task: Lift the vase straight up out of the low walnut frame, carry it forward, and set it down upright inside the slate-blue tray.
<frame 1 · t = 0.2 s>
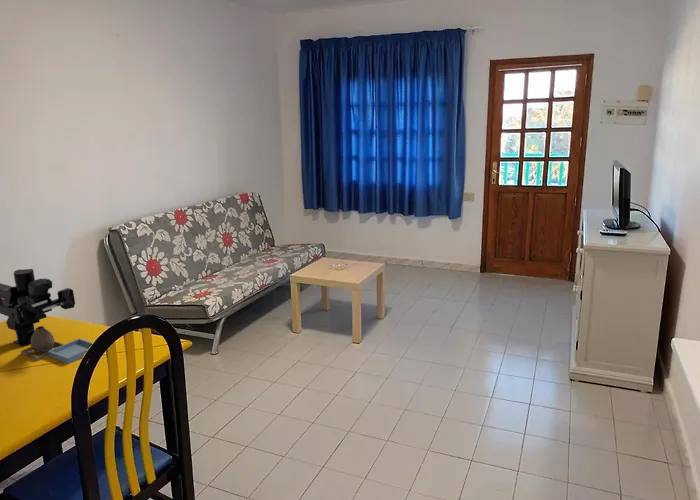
hand: (60, 310, 167), 16 cm above the table, tool horizontal, fingers open, 9 cm apart
vase: (44, 351, 176), resting in walnut frame
slate tray: (74, 353, 174), on the table
walnut frame: (44, 351, 176), on the table
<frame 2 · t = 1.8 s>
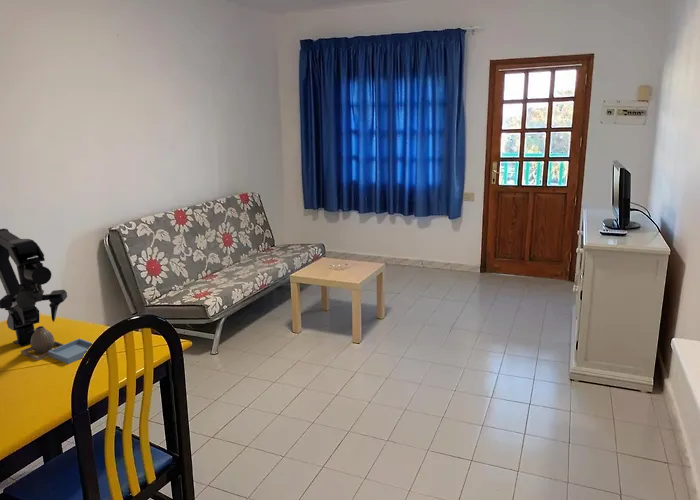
hand: (38, 322, 173), 10 cm above the table, tool pointing down, fingers open, 9 cm apart
nothing on the table moved.
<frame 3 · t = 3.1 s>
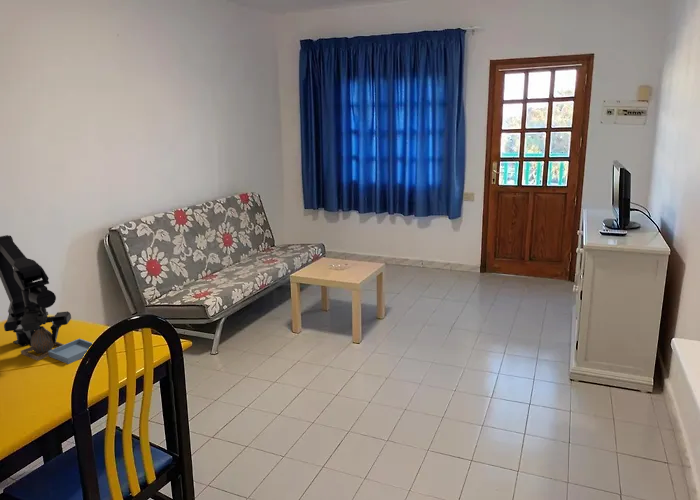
hand: (43, 344, 175), 3 cm above the table, tool pointing down, fingers closed on vase, 7 cm apart
vase: (44, 351, 176), resting in walnut frame, touching gripper
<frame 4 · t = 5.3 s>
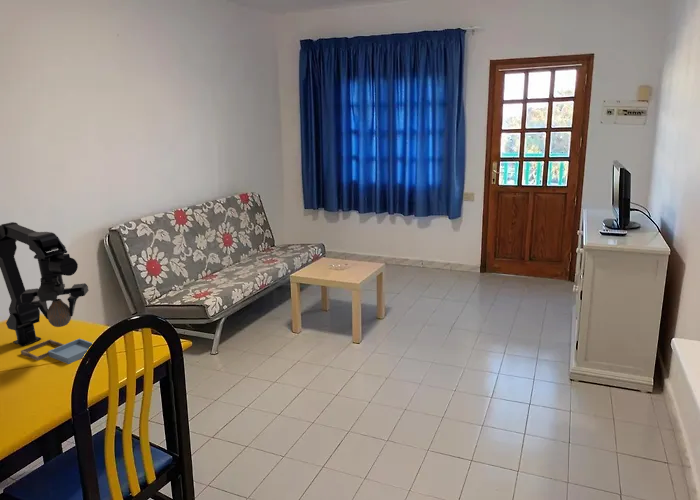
hand: (60, 317, 171), 13 cm above the table, tool pointing down, fingers closed on vase, 7 cm apart
vase: (61, 325, 171), point 10 cm above the table, touching gripper
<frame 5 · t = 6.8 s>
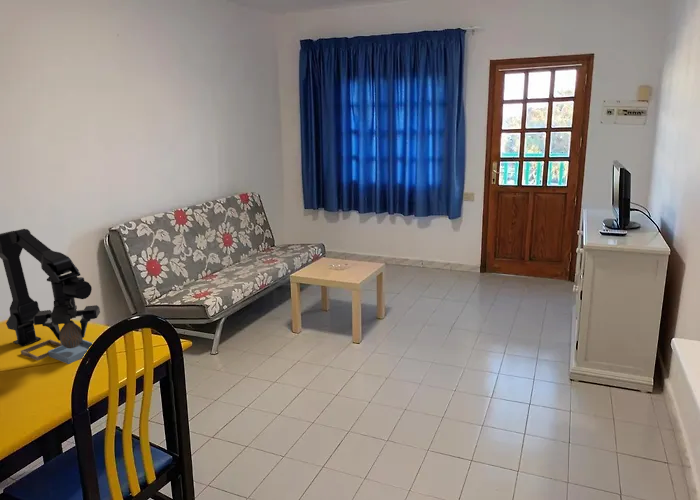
hand: (71, 338, 172), 5 cm above the table, tool pointing down, fingers closed on vase, 7 cm apart
vase: (72, 346, 173), point 3 cm above the table, touching gripper
when the fingers open (4 cm above the table, at t = 8.0 s): vase drops 1 cm, resting on slate tray.
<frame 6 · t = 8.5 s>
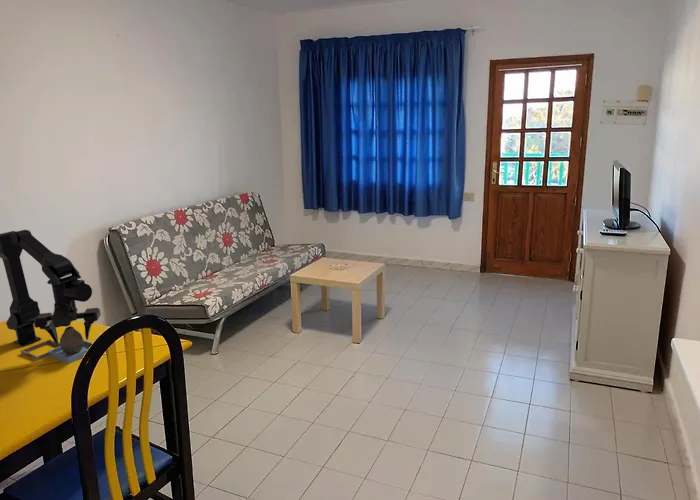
hand: (72, 341, 173), 4 cm above the table, tool pointing down, fingers open, 9 cm apart
vase: (73, 352, 174), resting on slate tray
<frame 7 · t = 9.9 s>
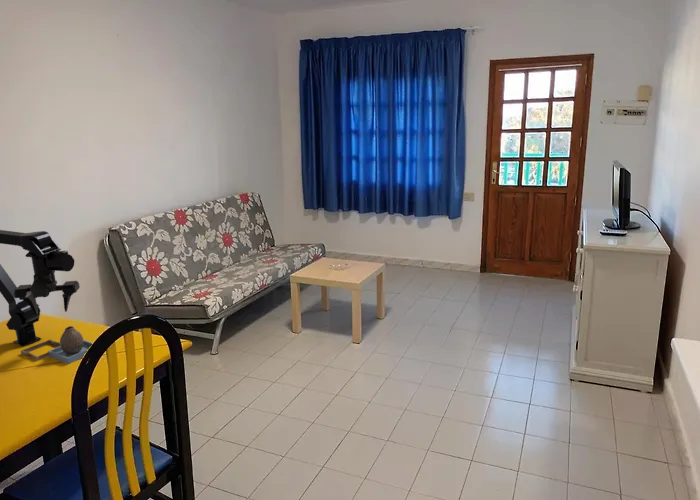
hand: (51, 312, 178), 12 cm above the table, tool pointing down, fingers open, 9 cm apart
nothing on the table moved.
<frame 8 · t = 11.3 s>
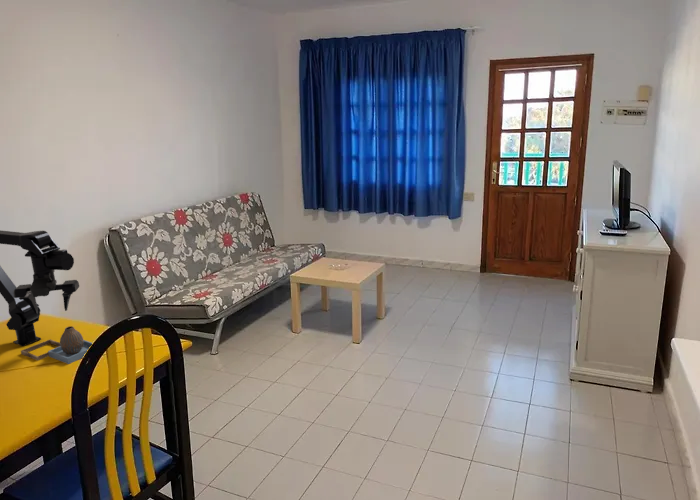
hand: (51, 312, 178), 12 cm above the table, tool pointing down, fingers open, 9 cm apart
nothing on the table moved.
at the end: vase 0.2 cm off-centre on the slate tray, point 0.4 cm above the slate tray's base; vase tilted 0°; the gripper is holding nothing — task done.
